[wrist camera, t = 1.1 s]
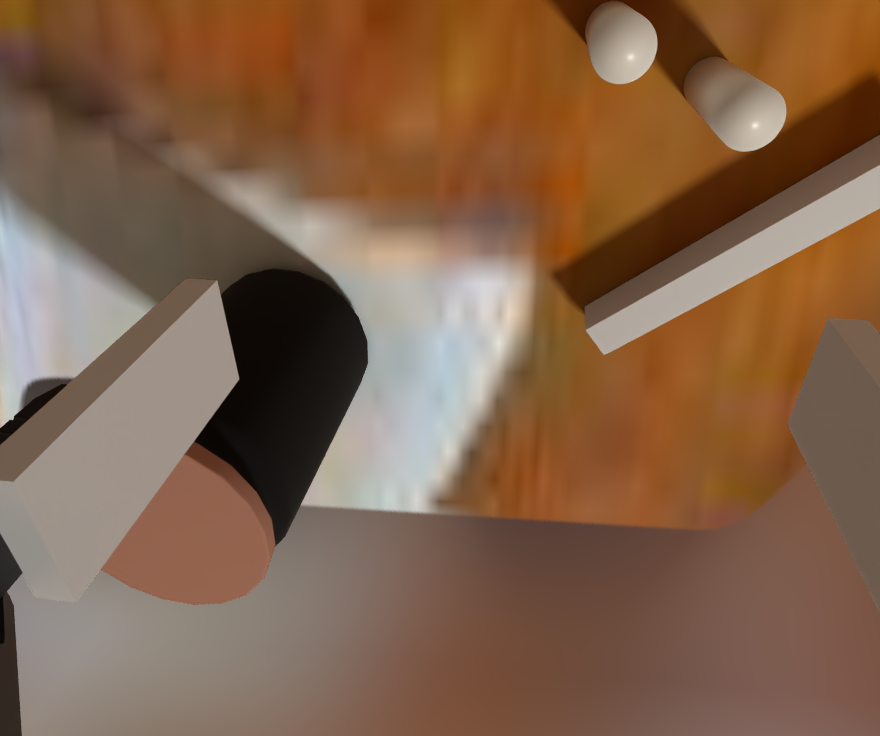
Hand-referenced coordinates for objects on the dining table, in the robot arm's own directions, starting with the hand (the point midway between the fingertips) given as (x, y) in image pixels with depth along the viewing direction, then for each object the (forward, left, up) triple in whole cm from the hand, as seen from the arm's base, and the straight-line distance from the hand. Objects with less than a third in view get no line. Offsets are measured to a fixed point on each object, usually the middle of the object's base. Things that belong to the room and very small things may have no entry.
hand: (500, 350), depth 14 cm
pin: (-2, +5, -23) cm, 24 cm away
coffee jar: (+1, -21, -24) cm, 31 cm away
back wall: (+11, +5, -23) cm, 26 cm away
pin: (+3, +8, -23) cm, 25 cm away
